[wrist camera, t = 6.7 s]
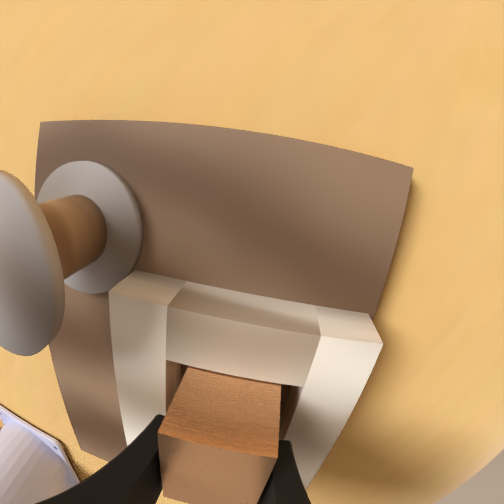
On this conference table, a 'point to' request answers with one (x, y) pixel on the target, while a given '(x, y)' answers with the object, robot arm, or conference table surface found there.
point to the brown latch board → (198, 271)
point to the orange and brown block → (219, 438)
